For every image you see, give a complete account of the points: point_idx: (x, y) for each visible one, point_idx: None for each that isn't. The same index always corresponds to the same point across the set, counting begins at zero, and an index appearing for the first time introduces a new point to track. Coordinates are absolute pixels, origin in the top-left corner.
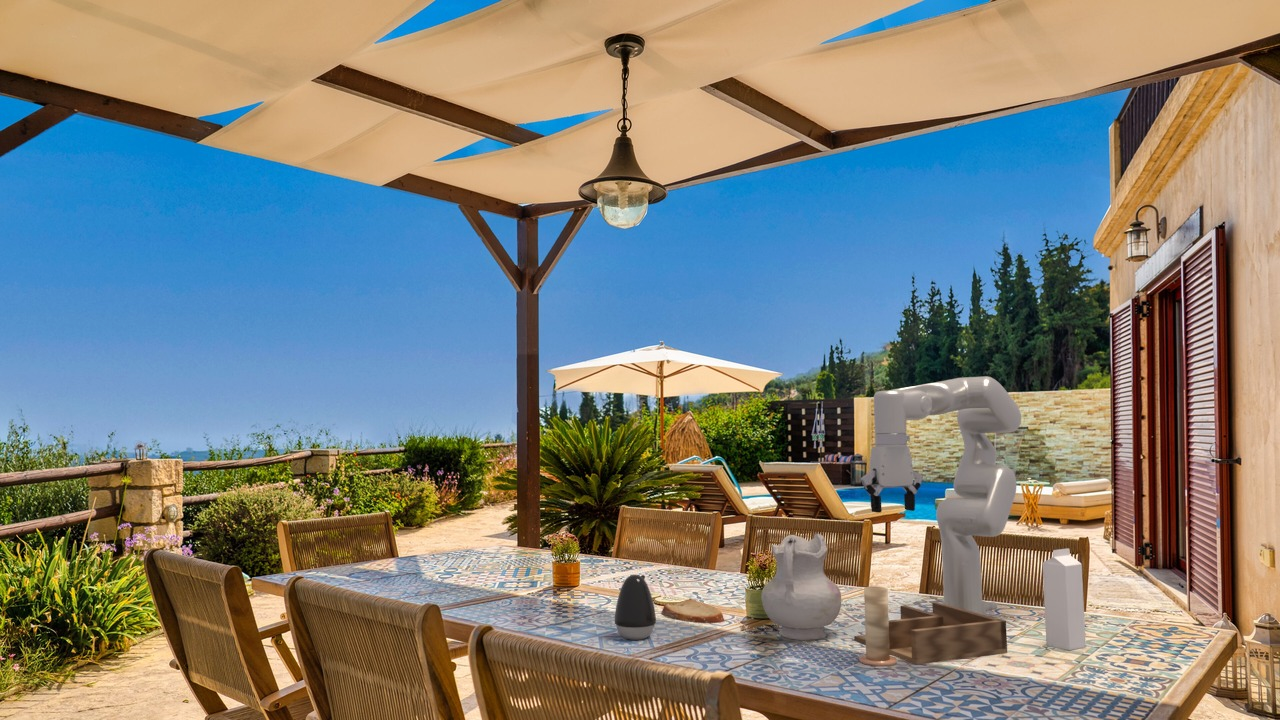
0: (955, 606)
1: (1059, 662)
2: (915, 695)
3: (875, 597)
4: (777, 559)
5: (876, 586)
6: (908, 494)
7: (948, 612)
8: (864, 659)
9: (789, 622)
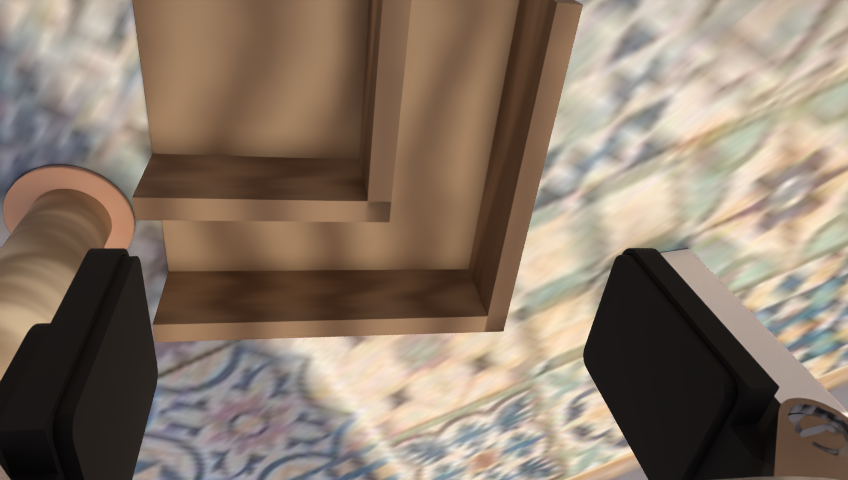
0: None
1: (506, 364)
2: None
3: None
4: None
5: (3, 349)
6: (702, 454)
7: (527, 99)
8: (18, 216)
9: None
